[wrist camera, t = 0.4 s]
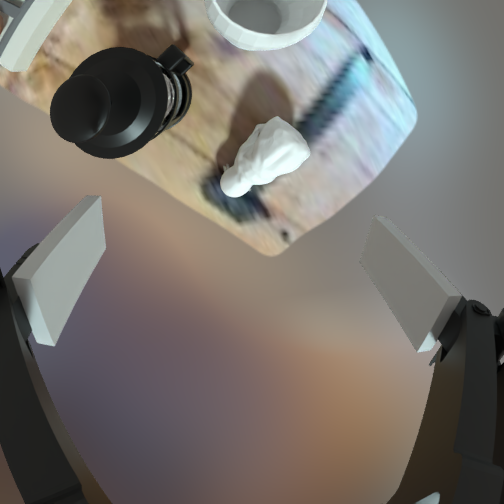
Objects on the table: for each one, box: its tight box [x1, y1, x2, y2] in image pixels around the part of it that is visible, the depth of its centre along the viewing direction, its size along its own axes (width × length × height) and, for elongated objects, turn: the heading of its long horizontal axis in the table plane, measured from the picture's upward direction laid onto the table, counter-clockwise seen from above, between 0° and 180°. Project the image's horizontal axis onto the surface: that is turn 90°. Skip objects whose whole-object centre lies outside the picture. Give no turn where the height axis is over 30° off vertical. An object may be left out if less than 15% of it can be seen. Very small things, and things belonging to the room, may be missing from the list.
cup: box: [204, 0, 327, 51], centre depth 23 cm, size 11×11×15 cm
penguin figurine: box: [220, 116, 310, 197], centre depth 36 cm, size 6×8×12 cm
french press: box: [50, 45, 194, 159], centre depth 24 cm, size 12×9×23 cm
